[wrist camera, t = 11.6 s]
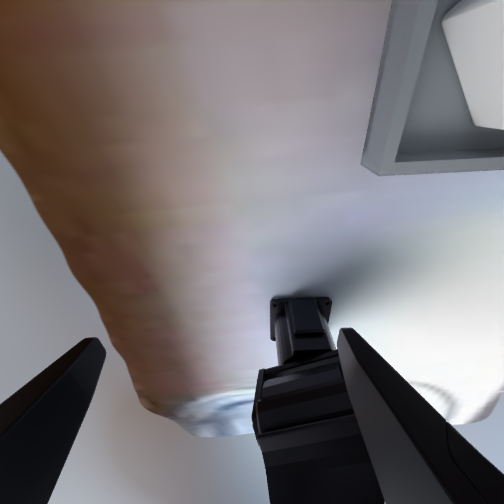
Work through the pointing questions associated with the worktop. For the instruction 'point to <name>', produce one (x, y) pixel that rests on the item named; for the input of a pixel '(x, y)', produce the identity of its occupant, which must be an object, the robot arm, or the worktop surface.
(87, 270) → the worktop surface
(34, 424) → the robot arm
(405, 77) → the bin
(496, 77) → the medicine bottle
